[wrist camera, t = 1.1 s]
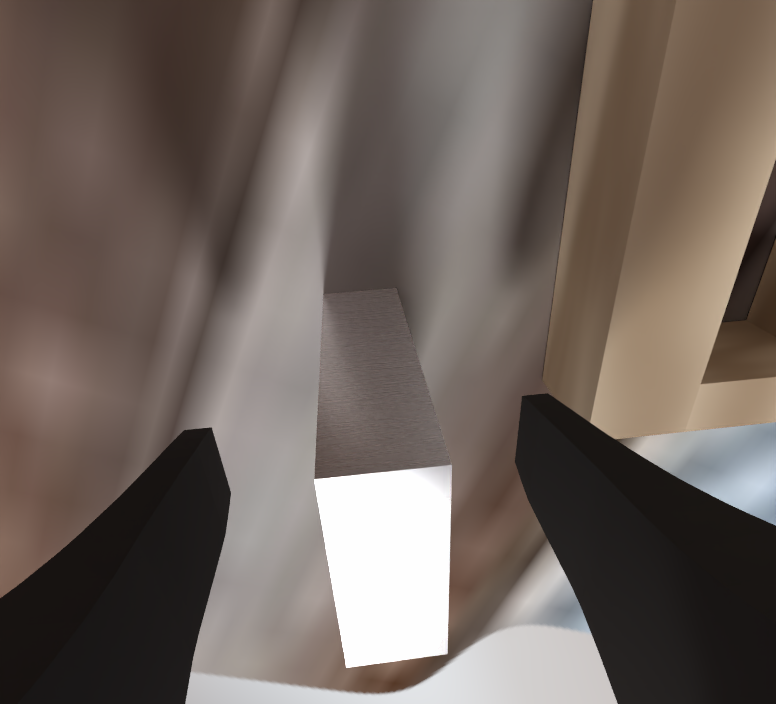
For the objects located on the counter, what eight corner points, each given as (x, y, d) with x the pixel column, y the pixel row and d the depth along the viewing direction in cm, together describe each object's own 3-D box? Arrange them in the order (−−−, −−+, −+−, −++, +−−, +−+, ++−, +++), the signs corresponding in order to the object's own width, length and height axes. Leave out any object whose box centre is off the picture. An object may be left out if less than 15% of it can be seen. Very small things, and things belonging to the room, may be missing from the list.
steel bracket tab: (396, 287, 13) (451, 464, 7) (402, 430, 15) (447, 653, 9) (323, 293, 13) (314, 479, 7) (341, 437, 15) (346, 667, 9)
